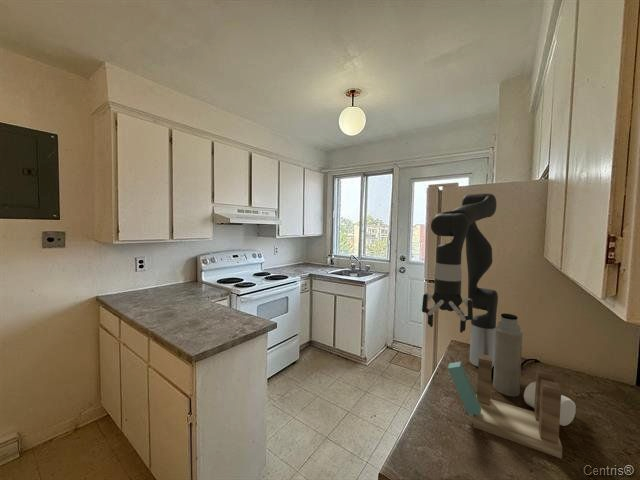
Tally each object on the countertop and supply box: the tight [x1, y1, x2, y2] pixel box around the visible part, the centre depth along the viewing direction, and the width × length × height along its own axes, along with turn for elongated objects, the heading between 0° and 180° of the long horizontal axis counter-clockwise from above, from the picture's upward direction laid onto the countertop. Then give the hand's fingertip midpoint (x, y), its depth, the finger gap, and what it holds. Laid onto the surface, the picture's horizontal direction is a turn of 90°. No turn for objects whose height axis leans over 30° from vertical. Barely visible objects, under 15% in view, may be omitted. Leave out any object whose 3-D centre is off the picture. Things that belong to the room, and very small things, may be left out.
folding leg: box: [447, 361, 481, 416], centre depth 82 cm, size 4×4×14 cm
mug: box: [523, 381, 577, 427], centre depth 85 cm, size 12×10×8 cm
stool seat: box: [472, 354, 563, 459], centre depth 79 cm, size 13×20×18 cm, turn 58°
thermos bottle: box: [492, 313, 523, 397], centre depth 97 cm, size 8×8×28 cm
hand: (445, 328), depth 83 cm, fingers open, 8 cm apart
